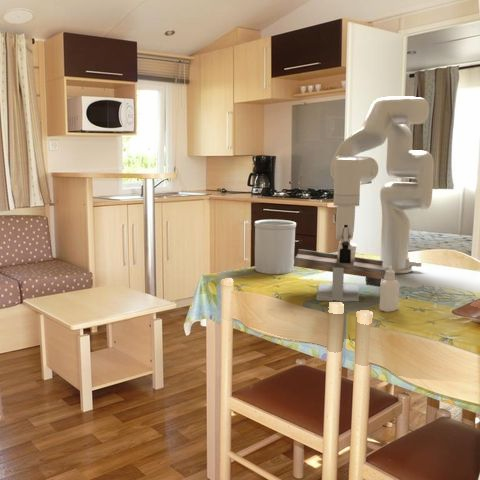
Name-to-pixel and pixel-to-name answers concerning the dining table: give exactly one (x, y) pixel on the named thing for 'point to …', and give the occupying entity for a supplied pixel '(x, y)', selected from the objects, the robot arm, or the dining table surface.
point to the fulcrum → (337, 289)
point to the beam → (342, 265)
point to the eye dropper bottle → (389, 292)
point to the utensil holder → (274, 246)
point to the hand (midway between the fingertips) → (345, 260)
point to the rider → (353, 250)
